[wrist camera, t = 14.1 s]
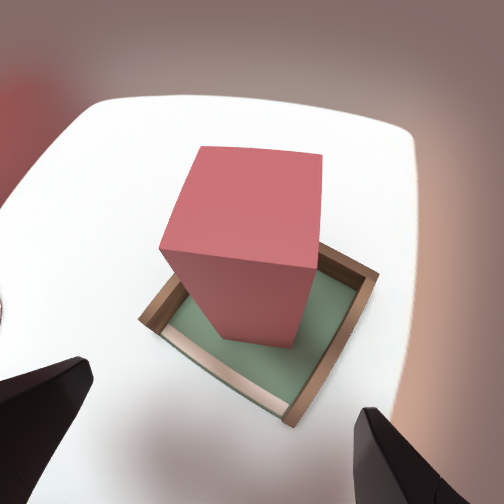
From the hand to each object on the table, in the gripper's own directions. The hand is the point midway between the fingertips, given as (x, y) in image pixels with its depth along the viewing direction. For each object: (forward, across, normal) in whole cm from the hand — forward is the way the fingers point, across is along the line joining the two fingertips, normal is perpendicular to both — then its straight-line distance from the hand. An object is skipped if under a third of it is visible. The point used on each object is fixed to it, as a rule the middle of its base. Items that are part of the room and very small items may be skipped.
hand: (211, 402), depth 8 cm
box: (+14, 0, +4) cm, 14 cm away
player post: (+13, 0, +4) cm, 14 cm away
